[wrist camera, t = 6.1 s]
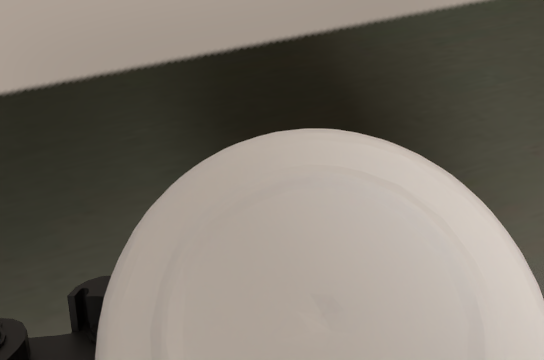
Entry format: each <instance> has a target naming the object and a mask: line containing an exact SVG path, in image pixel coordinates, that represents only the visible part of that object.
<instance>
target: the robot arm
mask: <svg viewBox="0 0 544 360" xmlns="http://www.w3.org/2000/svg"><path fill="white" fill-rule="evenodd" d="M110 278H111V276H102V277H98V278H95V279H92V280H88V281H86V282H84V283H83V284H81V285H79V286H77V287H76V288H75V289H74V290H73V291H72V292H71V293H70V294H69V295H68V296H67V297H68V304H69V312H70V320H71V327H72V333H71V334H65V335H58V336H47V337H35V338H28V335H27V330H26V328H25V326H24V325H23V323H22V322H19V321H17V320H14V319H4V318H0V360H95V353H96V342H97V331H98V325H99V319H100V314H101V310H102V305H103V300H104V296H105V293H106V290H107V287H108V284H109V281H110Z"/></svg>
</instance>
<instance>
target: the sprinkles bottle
mask: <svg viewBox="0 0 544 360" xmlns="http://www.w3.org/2000/svg"><path fill="white" fill-rule="evenodd" d="M95 360H544V300H543V297H542V294H541V291H540V288H539V285H538V283H537V281H536V279H535V278H534V276H533V274H532V272H531V270H530V268H529V266H528V264H527V262H526V260H525V258H524V256H523V254H522V252H521V251H520V250H519V248H518V247H517V245H516V244H515V242H514V241H513V239H512V238H511V236H510V235H509V233H508V232H507V231H506V229H505V228H504V227H503V225H502V224H501V223H500V222H499V220H498V219H497V218H496V217H495V215H494V214H493V213H492V212H491V211H490V209H489V208H488V207H487V206H486V205H485V204H484V203H483V202H482V201H481V200H480V199H479V198H478V197H477V196H476V195H475V194H474V193H472V192H471V191H470V190H469V189H468V188H467V187H466V186H465V185H464V184H462V183H461V182H460V181H459V180H457V179H456V178H455V177H454V176H452V175H451V174H450V173H448V172H447V171H445V170H444V169H442V168H441V167H439V166H438V165H436V164H434V163H433V162H431V161H429V160H427V159H426V158H424V157H422V156H421V155H419V154H417V153H415V152H412V151H410V150H408V149H406V148H404V147H401V146H399V145H396V144H394V143H392V142H389V141H386V140H383V139H379V138H376V137H372V136H368V135H364V134H360V133H356V132H350V131H343V130H337V129H297V130H288V131H279V132H274V133H270V134H266V135H262V136H258V137H255V138H252V139H249V140H246V141H243V142H240V143H237V144H234V145H232V146H230V147H228V148H225V149H223V150H221V151H219V152H218V153H216V154H214V155H212V156H211V157H209V158H207V159H205V160H204V161H202V162H200V163H199V164H198V165H196V166H195V167H193V168H192V169H191V170H189V171H188V172H187V173H185V174H184V175H183V176H181V177H180V178H179V179H178V180H177V181H176V182H175V183H174V184H172V185H171V186H170V187H169V188H168V189H167V190H166V191H165V192H164V193H163V194H162V196H161V197H160V198H159V199H158V200H157V201H156V202H155V203H154V204H153V205H152V206H151V207H150V209H149V210H148V211H147V212H146V214H145V215H144V216H143V218H142V219H141V221H140V222H139V224H138V225H137V226H136V228H135V229H134V231H133V232H132V234H131V236H130V238H129V240H128V242H127V244H126V246H125V247H124V249H123V251H122V253H121V255H120V257H119V259H118V261H117V264H116V266H115V269H114V271H113V273H112V276H111V278H110V281H109V284H108V287H107V290H106V293H105V296H104V300H103V305H102V310H101V314H100V319H99V325H98V331H97V342H96V353H95Z"/></svg>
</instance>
